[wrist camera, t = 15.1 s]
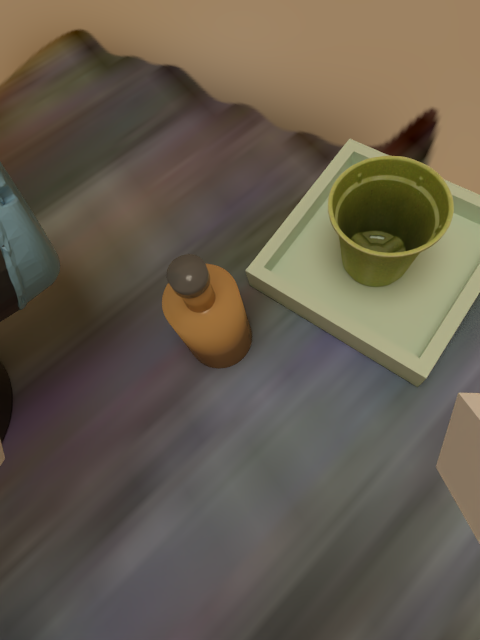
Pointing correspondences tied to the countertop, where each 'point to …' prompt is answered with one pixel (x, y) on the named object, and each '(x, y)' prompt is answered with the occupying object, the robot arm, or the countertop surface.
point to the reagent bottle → (206, 311)
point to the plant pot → (387, 216)
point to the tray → (365, 301)
